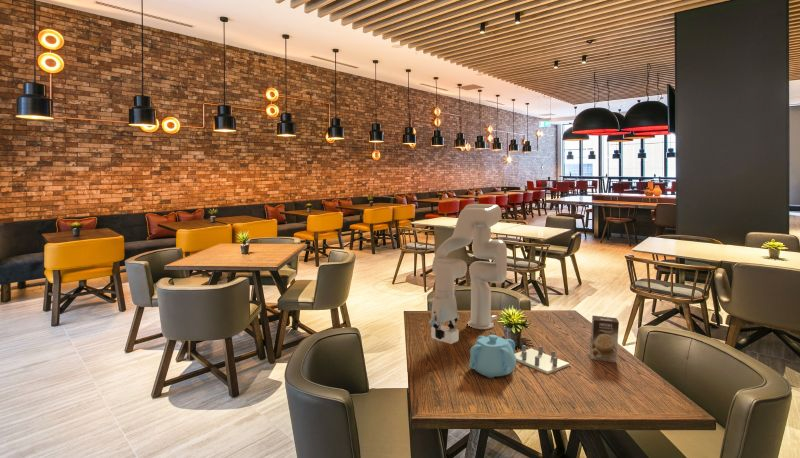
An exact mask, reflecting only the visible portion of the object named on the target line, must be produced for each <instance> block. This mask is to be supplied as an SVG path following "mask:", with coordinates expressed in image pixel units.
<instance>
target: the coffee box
mask: <svg viewBox="0 0 800 458" xmlns="http://www.w3.org/2000/svg"><path fill="white" fill-rule="evenodd" d="M619 324H620V323H619V320H618V319H617V318H616V317H608V316H600V315H599V316H598V315H592V316H591V331H590V348H589V349H590V350H589V356H590V358H591V359H590V360H595V361H604V362H610V363H612V362H613V363H617V360H618V359H617V355H618V344H619V343H618V341H619V340H618V339H619V329H620V328H619V327H620V325H619Z"/></svg>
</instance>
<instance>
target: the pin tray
mask: <svg viewBox="0 0 800 458" xmlns="http://www.w3.org/2000/svg"><path fill="white" fill-rule="evenodd" d="M537 348H538V350H537V349H533V348H529V349H527V346H526V345H524V344H523V345H521V351H519V352H514V355H515V357H516V362H518V363H520V364H522V365H525V366H528V367H530V368H532V369H535V370H537V371H539V372H541V373H543V374H547V375H549V374H551V373H554V372H557V371H559V370H563V369H565V368H567V367H569V366H570V363H569V362H567V361H565V360H562V359H560V358H558V357H556V356H557V354H556V350H551V351H550V353H551V354H550V355H549V354H546V353H544V350H543V348H544V347H543V346H542V345H538V347H537Z"/></svg>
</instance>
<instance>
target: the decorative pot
mask: <svg viewBox="0 0 800 458" xmlns="http://www.w3.org/2000/svg"><path fill="white" fill-rule="evenodd" d="M475 341H476V342H474V343H475V344H474V345H472V346H471V348H470V349H469V354H470V357H469V363H468V366H469V369H472V370H475V372H477V373H479V374H480V375H483V376H485V377H487V378H488V379H493V378H495V377H503V376H508V375H509V374H511V373H512V372H513V371H514V370H515V368H516V366H517V361H516V357H515V355H514V354H515V348H516V343H515V341H514V340H512V339H510V338H506V339H505V338H503V337H501V336H498V335H495V334H490V335H488V336H485V335H479V336H478V337H477V338H476V340H475Z"/></svg>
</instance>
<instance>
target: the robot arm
mask: <svg viewBox="0 0 800 458" xmlns="http://www.w3.org/2000/svg"><path fill="white" fill-rule="evenodd" d="M501 218H502V209H501V207H500V206H499V205H498V204H492V203H491V204H490V203H489V204H487V203H485V204H484V203H469V204H466V205H465V206H464V208H462V209H461V210H460V212H459V215H458V218H457V220H456V224H455V227H454V229H453V233H452V235H451V236H450V237H449V238H447V239H446V240H444V241H443V242H442V243H441V244H440V245H439V247H437V249H436V252H435V254H434V257H433V260H432V265H431V268H432V272H433V274H434V278H435V280H434V286H435V287H434V288H435V289H434V291H435V292H434V293H435V294H434V295H435V296H433V297H432V298H433V299H432V303H431V304H432V305H431V314H430V315H431V317H430V319H429V321H428V323H429V324H430V325H431V327H434V328H435V337H436V338H438V339H442V330H441V325H443V323H445V322H447V323H448V324H447V326H448V327H451V328H455V326H456V324H457V322H458V320H459V318H460V316H461V314H460V313H459V312H458V306H457V300H456V295H455V292H456V288H455V279H460V278H462V277H464V276H465V275H466V274H467V271H468V265H467V263H466V261H465V260H463V259H458V258H450V257H447V256H448V255H449V254H451V252H454V251H456V250H459V249H462V248H464V247H467V246H469V245H471V244H472V255H473V256H474V258H477V259H481V260H478V261H474V262H471V264H470V265H469V278H470V320H468V321H467V324H468V325H467V326H468V327H469V326H470V328H471V327H472V328H471V329H476V330H489V329H492V328H494V326H495V325H494V322H493V321H494V320H496V319H498V316H497V315H495V314H494V315H491V314H492V313H491V311H492V307H491V306H492V290H491V287H490V284H488V283H493V284H502V283H504V282H505V281H506V279H507V273H508V272H507V271H508V269H507V268H508V265H507V264H508V263H507V262H508V261H507V260H508V250H507V244H506V243H505V242H504V240H500V239H492V236H491V235H492V229H491V227H493V226H495V225H496V224H498V223H499V221H500V220H501ZM483 260H491V261H483ZM492 261H494V262H492Z"/></svg>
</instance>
